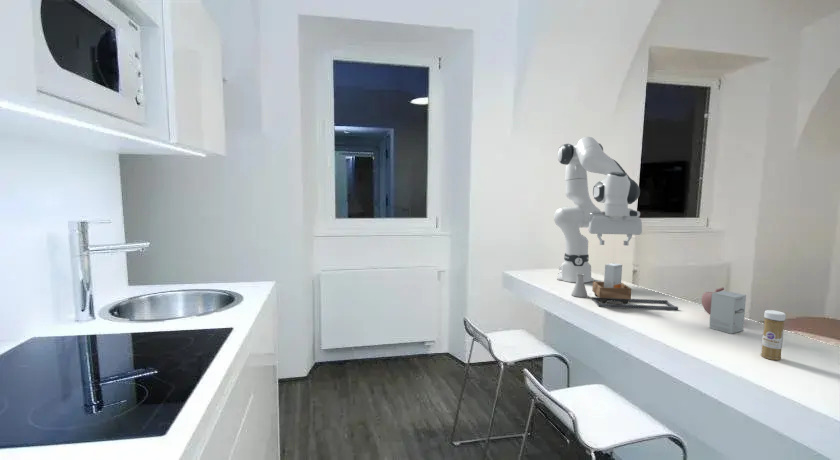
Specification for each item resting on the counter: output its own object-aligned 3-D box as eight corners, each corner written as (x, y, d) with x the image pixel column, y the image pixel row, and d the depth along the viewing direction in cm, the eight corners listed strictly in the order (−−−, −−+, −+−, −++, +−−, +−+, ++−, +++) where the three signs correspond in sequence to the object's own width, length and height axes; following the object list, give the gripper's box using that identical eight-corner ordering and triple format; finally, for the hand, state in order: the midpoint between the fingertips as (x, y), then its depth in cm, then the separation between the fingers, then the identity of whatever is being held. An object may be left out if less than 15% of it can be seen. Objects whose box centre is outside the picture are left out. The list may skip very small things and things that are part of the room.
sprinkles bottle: (760, 358, 120) (764, 312, 119) (761, 353, 124) (764, 308, 122) (781, 362, 117) (785, 315, 116) (781, 357, 121) (785, 311, 119)
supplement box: (732, 334, 140) (735, 297, 139) (708, 328, 146) (711, 292, 145) (744, 331, 143) (747, 294, 142) (720, 324, 150) (722, 290, 149)
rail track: (592, 299, 183) (592, 297, 183) (666, 302, 179) (666, 300, 179) (598, 306, 172) (599, 303, 172) (678, 310, 168) (678, 307, 168)
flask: (585, 294, 194) (586, 272, 193) (590, 298, 186) (591, 275, 185) (569, 293, 194) (570, 272, 193) (573, 297, 187) (574, 275, 186)
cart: (592, 296, 184) (592, 281, 183) (621, 297, 182) (622, 282, 181) (599, 303, 172) (600, 287, 171) (630, 304, 170) (631, 288, 169)
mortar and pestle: (741, 318, 158) (744, 288, 157) (737, 325, 149) (740, 293, 148) (703, 311, 166) (705, 283, 165) (697, 318, 158) (699, 288, 156)
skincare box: (612, 294, 173) (614, 265, 172) (603, 292, 177) (604, 264, 176) (621, 292, 176) (622, 264, 175) (611, 290, 180) (613, 262, 179)
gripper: (590, 211, 172) (589, 245, 173) (644, 212, 169) (642, 246, 170) (587, 211, 178) (585, 243, 180) (638, 211, 175) (637, 244, 176)
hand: (613, 245), depth 175 cm, fingers open, 8 cm apart
